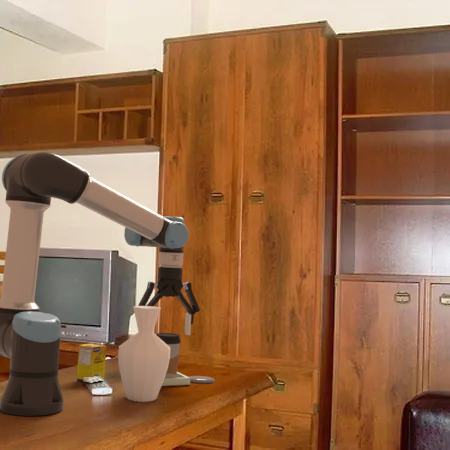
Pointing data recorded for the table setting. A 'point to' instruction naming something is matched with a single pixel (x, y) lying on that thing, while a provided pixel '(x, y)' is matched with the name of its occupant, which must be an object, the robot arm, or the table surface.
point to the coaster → (201, 379)
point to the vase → (143, 358)
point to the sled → (178, 380)
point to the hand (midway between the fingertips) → (167, 335)
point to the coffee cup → (171, 352)
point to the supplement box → (91, 361)
